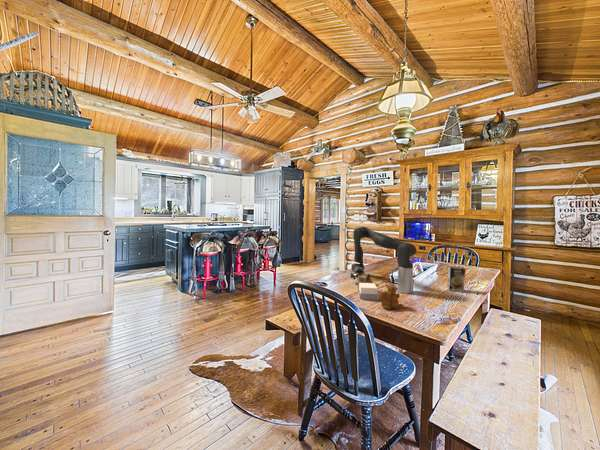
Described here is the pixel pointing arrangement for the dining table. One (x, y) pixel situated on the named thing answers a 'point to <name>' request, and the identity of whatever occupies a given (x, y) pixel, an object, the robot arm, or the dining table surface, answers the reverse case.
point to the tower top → (368, 288)
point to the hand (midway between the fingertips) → (360, 278)
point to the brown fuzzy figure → (390, 297)
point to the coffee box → (456, 279)
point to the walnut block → (361, 280)
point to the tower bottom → (368, 296)
